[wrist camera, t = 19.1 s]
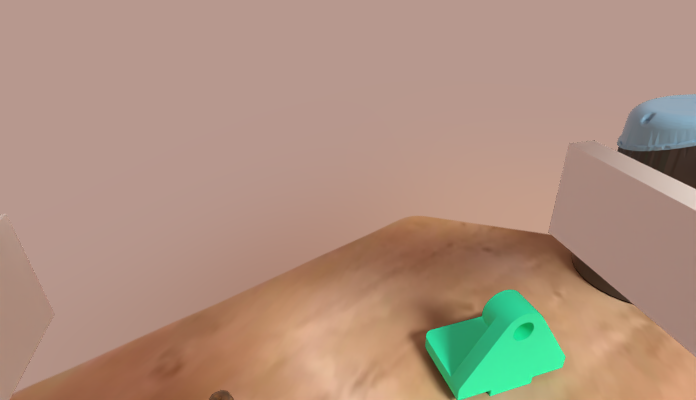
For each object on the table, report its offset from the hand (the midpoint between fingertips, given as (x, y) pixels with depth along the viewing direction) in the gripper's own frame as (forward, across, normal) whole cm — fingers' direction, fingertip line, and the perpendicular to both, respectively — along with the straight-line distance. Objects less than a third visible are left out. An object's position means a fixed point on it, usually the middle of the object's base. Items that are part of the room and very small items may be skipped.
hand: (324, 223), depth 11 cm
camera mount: (+19, +19, -32) cm, 42 cm away
